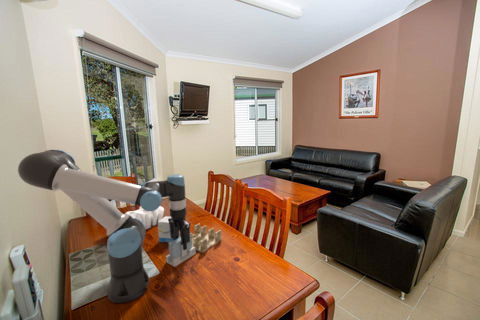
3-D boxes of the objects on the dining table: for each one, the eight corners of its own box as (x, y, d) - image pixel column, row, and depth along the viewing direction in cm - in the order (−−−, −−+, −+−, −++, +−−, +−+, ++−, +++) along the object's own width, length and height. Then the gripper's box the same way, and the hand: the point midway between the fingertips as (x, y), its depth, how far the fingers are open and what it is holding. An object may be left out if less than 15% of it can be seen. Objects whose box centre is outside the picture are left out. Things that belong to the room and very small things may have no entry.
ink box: (172, 243, 125) (171, 222, 124) (158, 241, 127) (157, 221, 125) (179, 235, 134) (178, 216, 132) (166, 234, 135) (165, 215, 134)
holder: (174, 267, 104) (174, 260, 103) (165, 262, 108) (165, 256, 107) (196, 253, 114) (195, 247, 114) (187, 249, 118) (187, 243, 118)
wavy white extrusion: (117, 241, 129) (115, 223, 127) (105, 233, 139) (103, 217, 137) (171, 220, 156) (170, 205, 154) (157, 215, 166) (156, 201, 164)
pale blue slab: (174, 262, 106) (172, 244, 104) (169, 260, 107) (168, 243, 106) (191, 252, 114) (190, 235, 113) (187, 250, 116) (186, 233, 115)
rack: (202, 253, 115) (201, 242, 114) (179, 243, 124) (179, 233, 124) (221, 240, 127) (221, 230, 126) (199, 232, 136) (199, 223, 136)
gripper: (196, 208, 105) (199, 255, 109) (173, 202, 115) (176, 245, 119) (183, 214, 99) (186, 263, 103) (160, 206, 109) (163, 252, 113)
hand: (181, 253), depth 111 cm, fingers open, 4 cm apart
